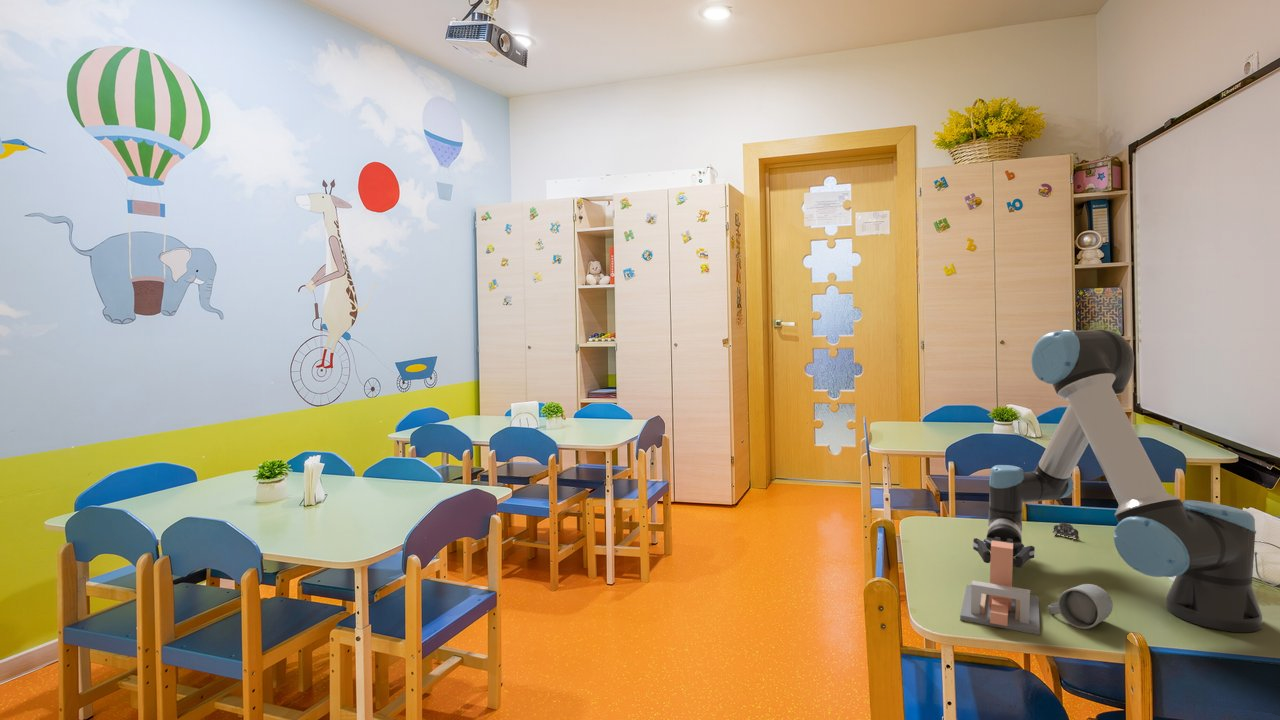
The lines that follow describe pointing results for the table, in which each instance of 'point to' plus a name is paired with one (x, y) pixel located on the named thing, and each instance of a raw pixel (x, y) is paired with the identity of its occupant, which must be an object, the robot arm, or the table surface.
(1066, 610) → the ceramic mug
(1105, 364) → the robot arm
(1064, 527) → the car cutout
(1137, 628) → the table surface
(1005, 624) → the clip bar
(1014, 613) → the mount
